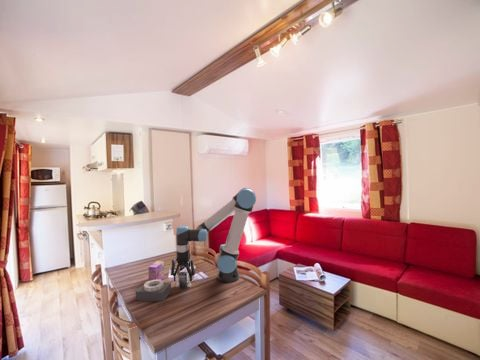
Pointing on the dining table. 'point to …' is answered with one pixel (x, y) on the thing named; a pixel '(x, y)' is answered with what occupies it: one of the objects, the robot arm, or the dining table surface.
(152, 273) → the box
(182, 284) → the lens
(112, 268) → the dining table surface
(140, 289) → the camera body
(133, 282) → the dining table surface
